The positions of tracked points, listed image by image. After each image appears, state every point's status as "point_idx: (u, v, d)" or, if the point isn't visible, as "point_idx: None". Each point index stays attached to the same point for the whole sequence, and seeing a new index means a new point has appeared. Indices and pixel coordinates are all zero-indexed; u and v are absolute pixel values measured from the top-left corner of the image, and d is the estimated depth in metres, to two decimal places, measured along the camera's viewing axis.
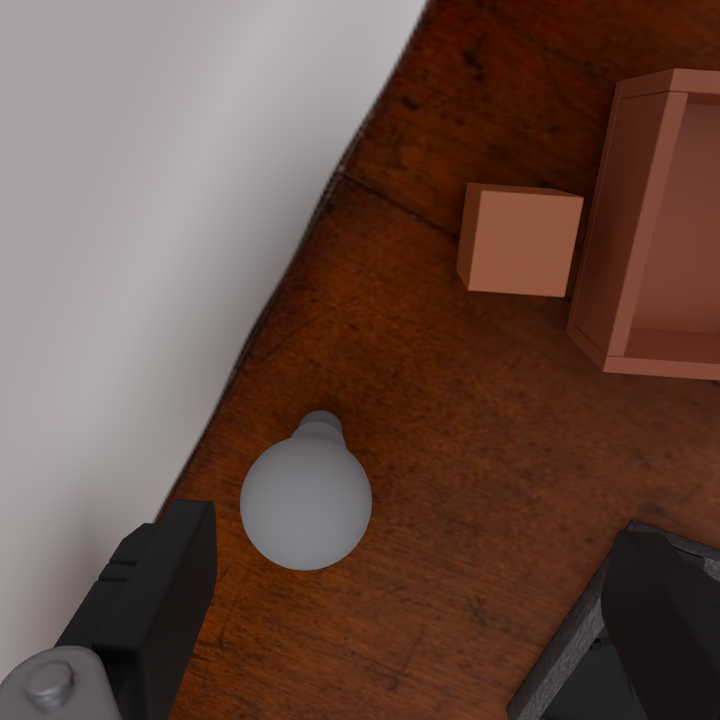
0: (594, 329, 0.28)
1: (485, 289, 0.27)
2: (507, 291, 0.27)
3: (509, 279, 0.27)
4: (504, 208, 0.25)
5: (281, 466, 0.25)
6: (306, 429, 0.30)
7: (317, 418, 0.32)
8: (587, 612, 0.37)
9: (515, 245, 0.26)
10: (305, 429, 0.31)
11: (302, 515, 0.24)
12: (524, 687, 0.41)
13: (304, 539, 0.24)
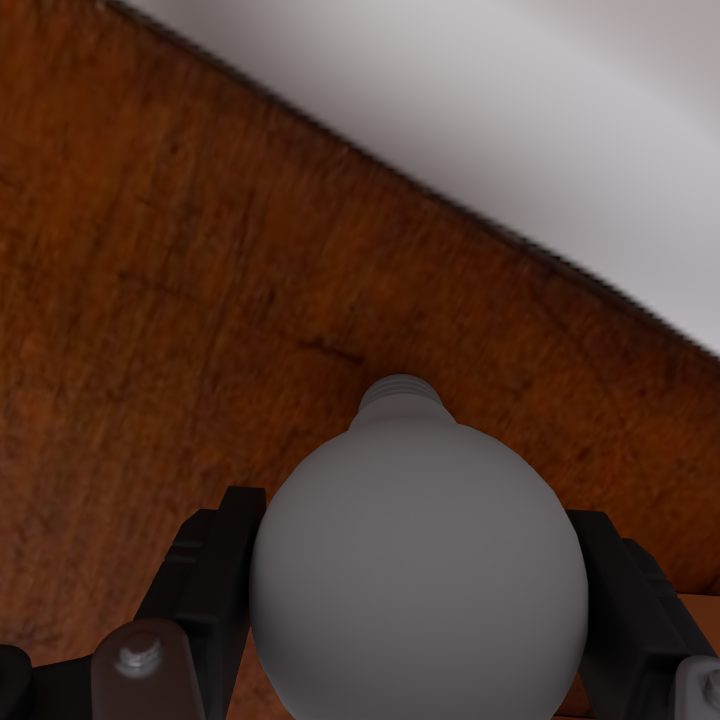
0: None
1: None
2: None
3: None
4: None
5: (585, 596, 0.09)
6: None
7: None
8: None
9: None
10: None
11: None
12: None
13: None
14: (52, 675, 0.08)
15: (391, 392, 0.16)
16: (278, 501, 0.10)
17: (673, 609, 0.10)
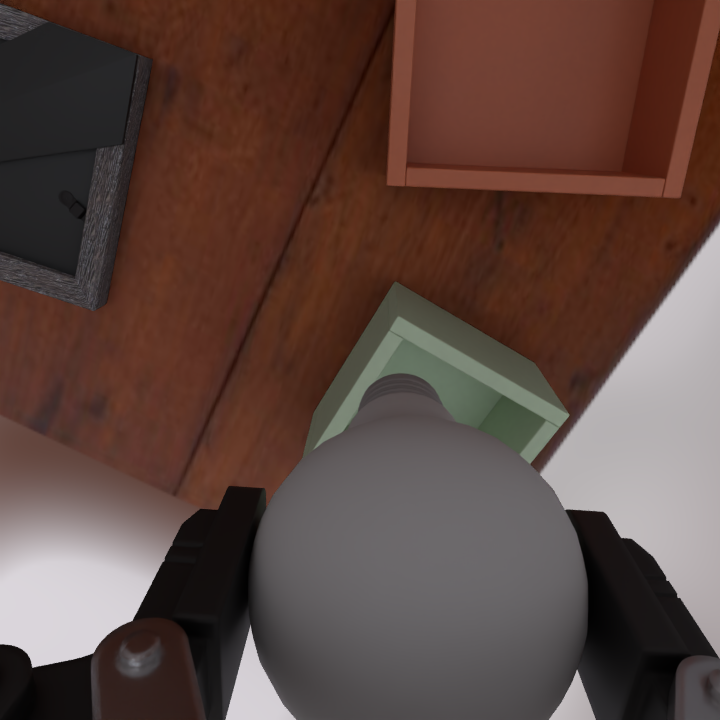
0: None
1: None
2: None
3: None
4: None
5: (584, 594, 0.09)
6: None
7: None
8: (1, 4, 0.27)
9: None
10: None
11: None
12: None
13: None
14: (52, 675, 0.08)
15: (390, 391, 0.16)
16: (278, 500, 0.10)
17: (673, 609, 0.10)
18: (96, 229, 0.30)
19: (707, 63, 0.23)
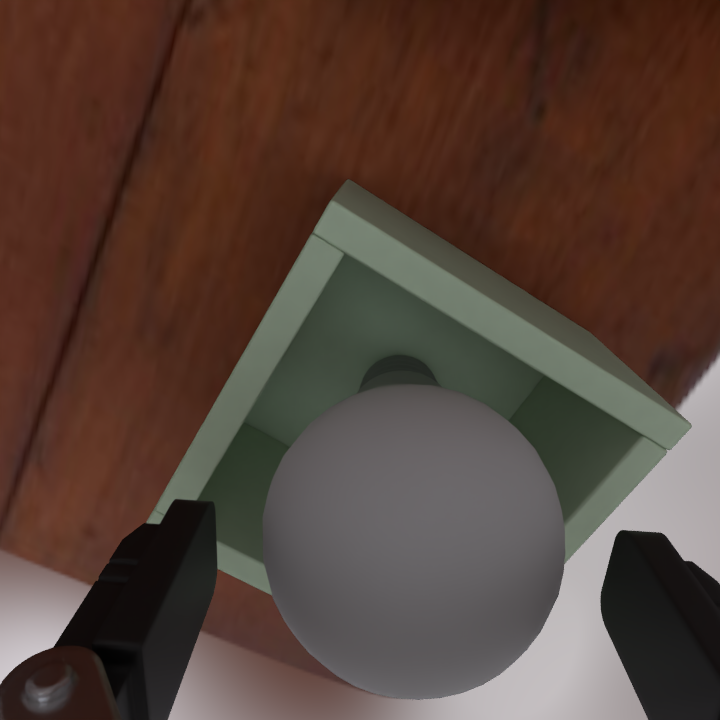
0: None
1: None
2: None
3: None
4: None
5: (560, 536, 0.11)
6: None
7: None
8: None
9: None
10: None
11: (493, 646, 0.10)
12: None
13: (433, 662, 0.09)
14: None
15: (390, 370, 0.17)
16: (289, 456, 0.11)
17: None
18: None
19: None
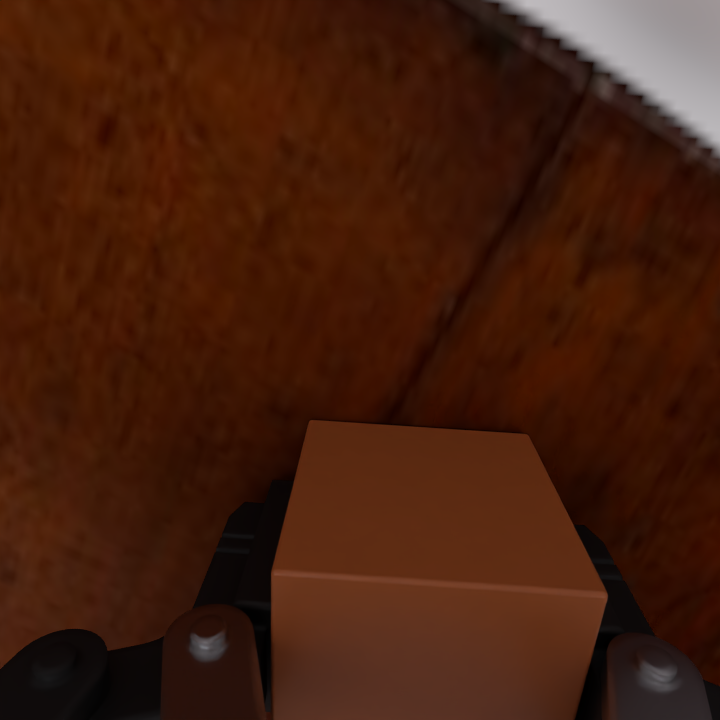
0: None
1: (279, 620, 0.08)
2: (277, 674, 0.08)
3: (317, 677, 0.08)
4: (542, 655, 0.08)
5: None
6: None
7: None
8: None
9: (423, 685, 0.08)
10: None
11: None
12: None
13: None
14: (122, 660, 0.08)
15: None
16: None
17: (616, 591, 0.10)
18: None
19: None
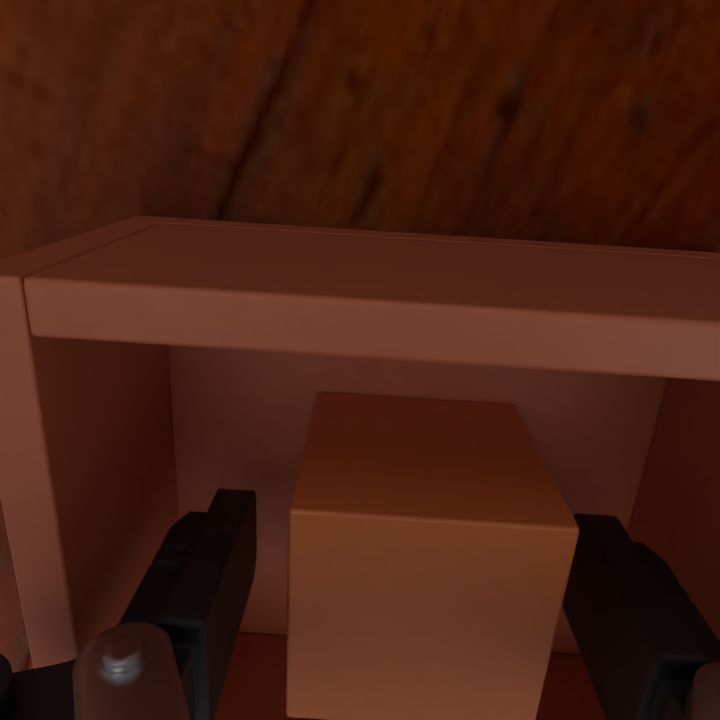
0: (133, 251, 0.09)
1: (295, 554, 0.09)
2: (292, 603, 0.10)
3: (327, 605, 0.10)
4: (523, 583, 0.09)
5: None
6: None
7: None
8: None
9: (420, 613, 0.10)
10: None
11: None
12: None
13: None
14: (34, 680, 0.08)
15: None
16: None
17: (687, 614, 0.09)
18: None
19: None
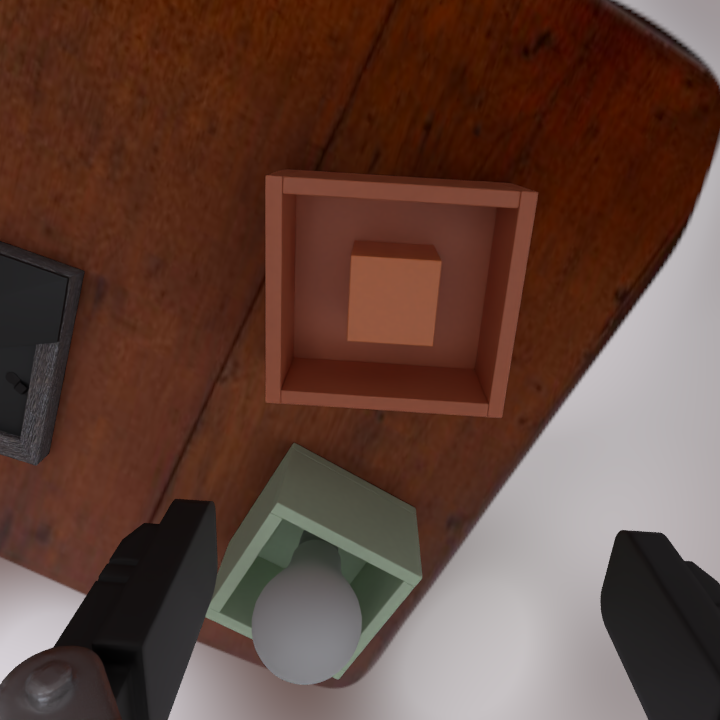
0: (301, 174, 0.28)
1: (352, 271, 0.29)
2: (350, 291, 0.29)
3: (362, 292, 0.29)
4: (425, 282, 0.29)
5: (353, 629, 0.31)
6: (339, 564, 0.36)
7: (337, 549, 0.38)
8: None
9: (392, 294, 0.29)
10: (339, 562, 0.36)
11: (324, 667, 0.30)
12: None
13: (304, 672, 0.30)
14: None
15: (311, 536, 0.37)
16: (261, 597, 0.31)
17: None
18: (37, 404, 0.36)
19: (513, 325, 0.29)
